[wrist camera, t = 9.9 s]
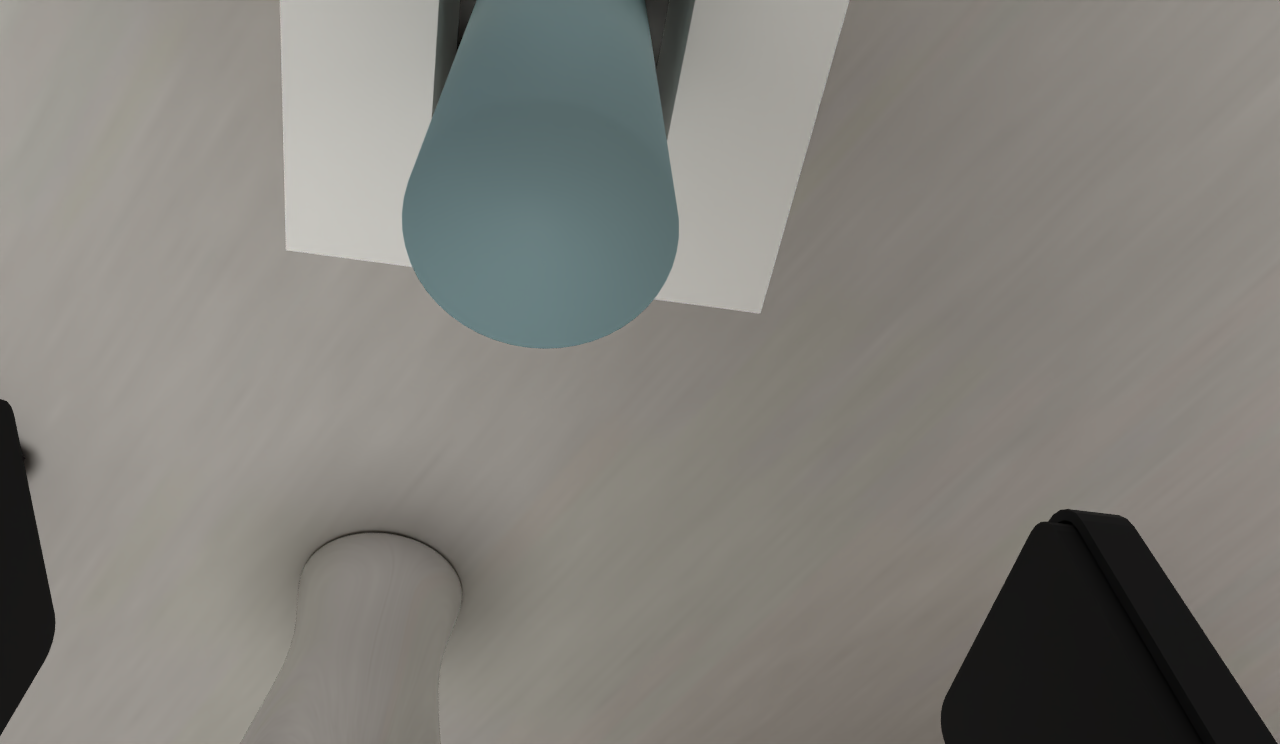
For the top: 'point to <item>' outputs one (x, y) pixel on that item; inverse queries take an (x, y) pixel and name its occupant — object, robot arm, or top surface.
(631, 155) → the peg
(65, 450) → the top surface
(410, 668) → the beer glass
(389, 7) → the socket block
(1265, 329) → the top surface
